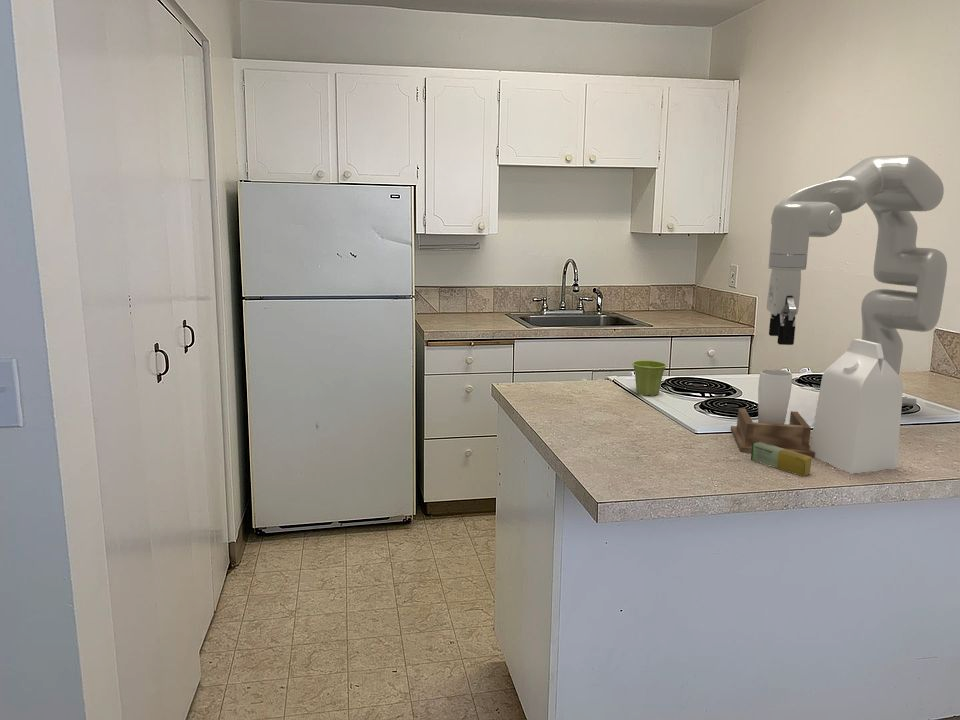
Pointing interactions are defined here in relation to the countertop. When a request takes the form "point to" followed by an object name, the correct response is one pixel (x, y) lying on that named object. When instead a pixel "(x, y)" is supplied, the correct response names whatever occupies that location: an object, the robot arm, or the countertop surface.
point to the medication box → (781, 458)
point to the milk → (859, 411)
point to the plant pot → (648, 376)
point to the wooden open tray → (773, 433)
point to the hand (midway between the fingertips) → (780, 339)
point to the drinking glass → (773, 395)
